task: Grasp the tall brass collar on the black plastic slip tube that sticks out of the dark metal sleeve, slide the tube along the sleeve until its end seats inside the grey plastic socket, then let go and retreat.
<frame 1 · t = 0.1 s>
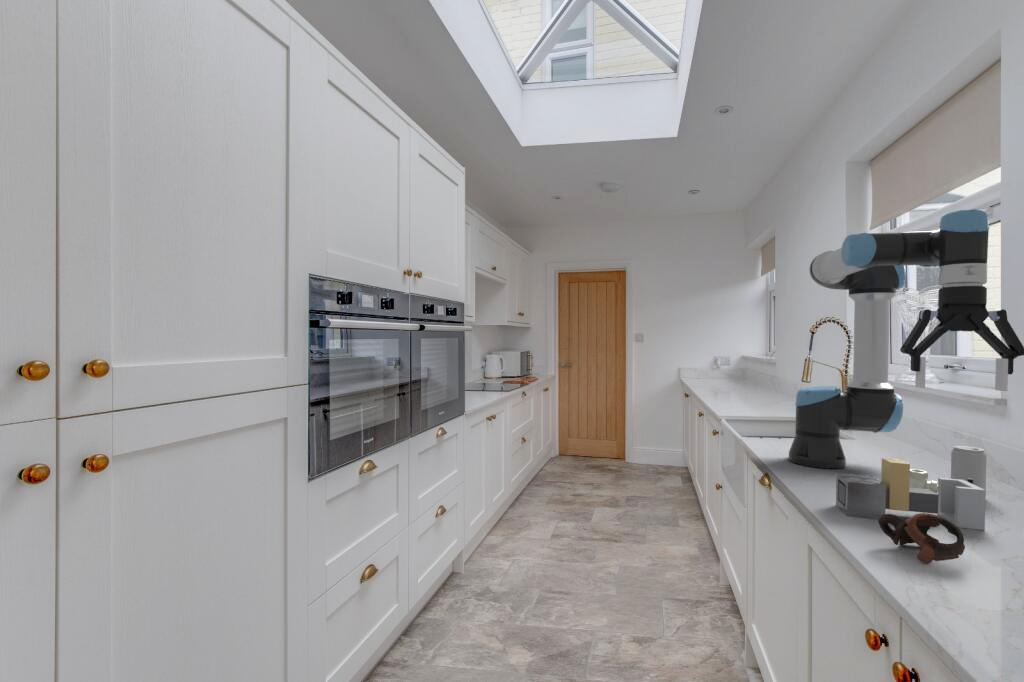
hand: (959, 389, 106), 28 cm above the table, tool pointing down, fingers open, 13 cm apart
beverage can: (967, 497, 125), on the table
sleeve: (859, 512, 112), on the table
rusty metal ring bracket: (919, 555, 90), on the table
valve: (938, 502, 120), on the table
socket: (960, 521, 107), on the table
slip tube: (886, 483, 110), point 7 cm above the table, slide at 0.0 cm
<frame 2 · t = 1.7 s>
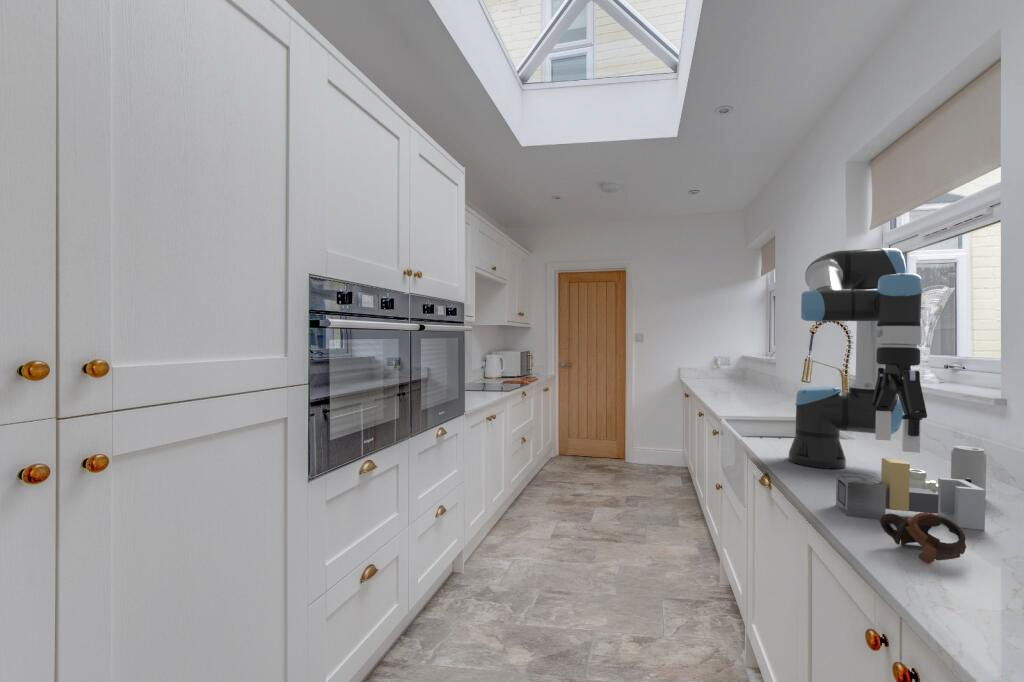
hand: (896, 445, 110), 15 cm above the table, tool pointing down, fingers open, 13 cm apart
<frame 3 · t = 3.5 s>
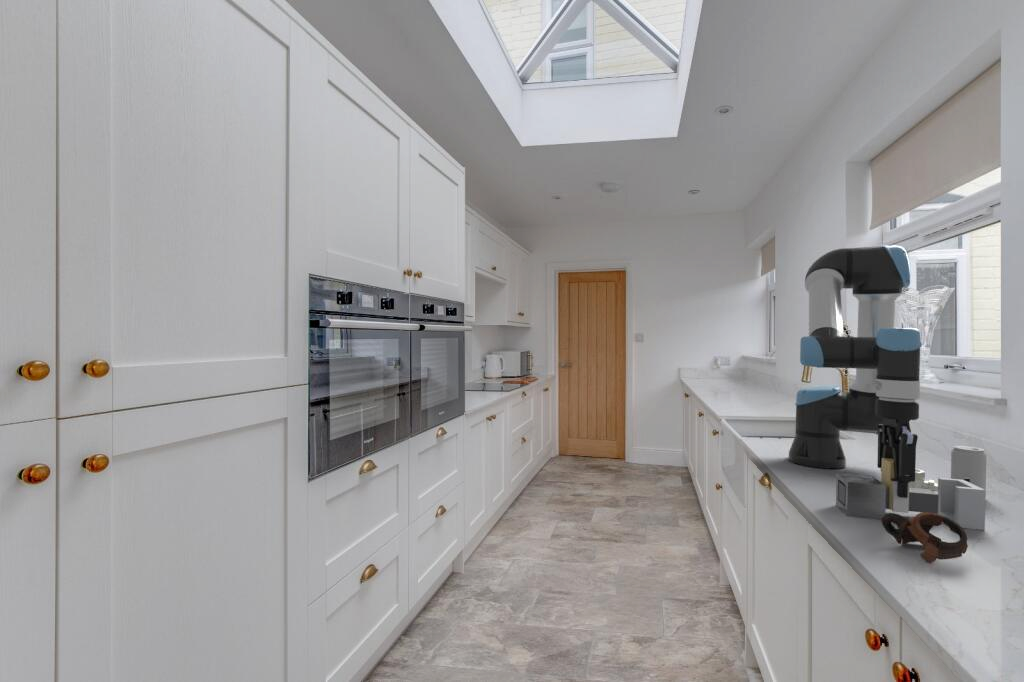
hand: (894, 507, 110), 2 cm above the table, tool pointing down, fingers closed on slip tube, 4 cm apart
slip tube: (886, 483, 110), point 7 cm above the table, slide at 0.0 cm, touching gripper
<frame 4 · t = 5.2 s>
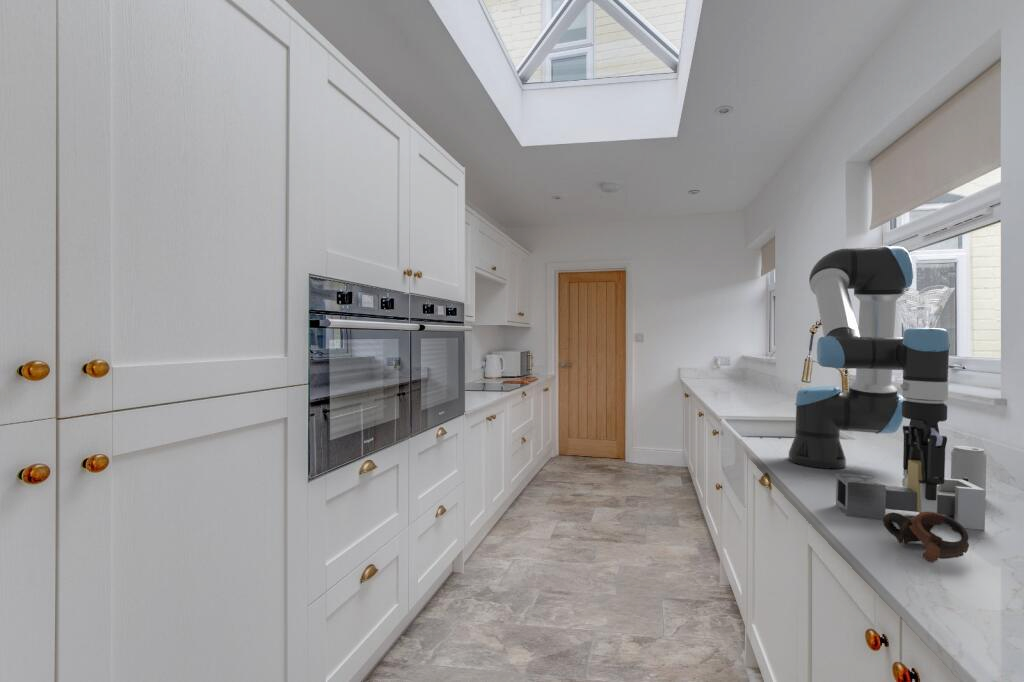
hand: (921, 510, 109), 2 cm above the table, tool pointing down, fingers closed on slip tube, 4 cm apart
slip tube: (914, 485, 109), point 7 cm above the table, slide at 5.0 cm, touching gripper
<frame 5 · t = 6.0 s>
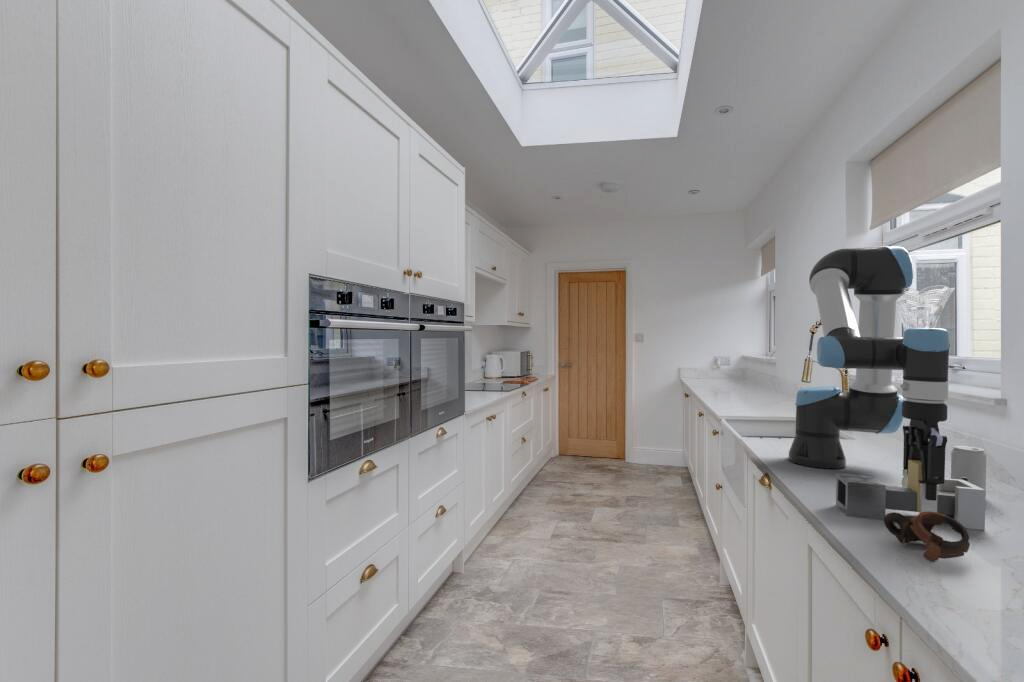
hand: (921, 510, 109), 2 cm above the table, tool pointing down, fingers closed on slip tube, 4 cm apart
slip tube: (914, 485, 109), point 7 cm above the table, slide at 5.0 cm, touching gripper
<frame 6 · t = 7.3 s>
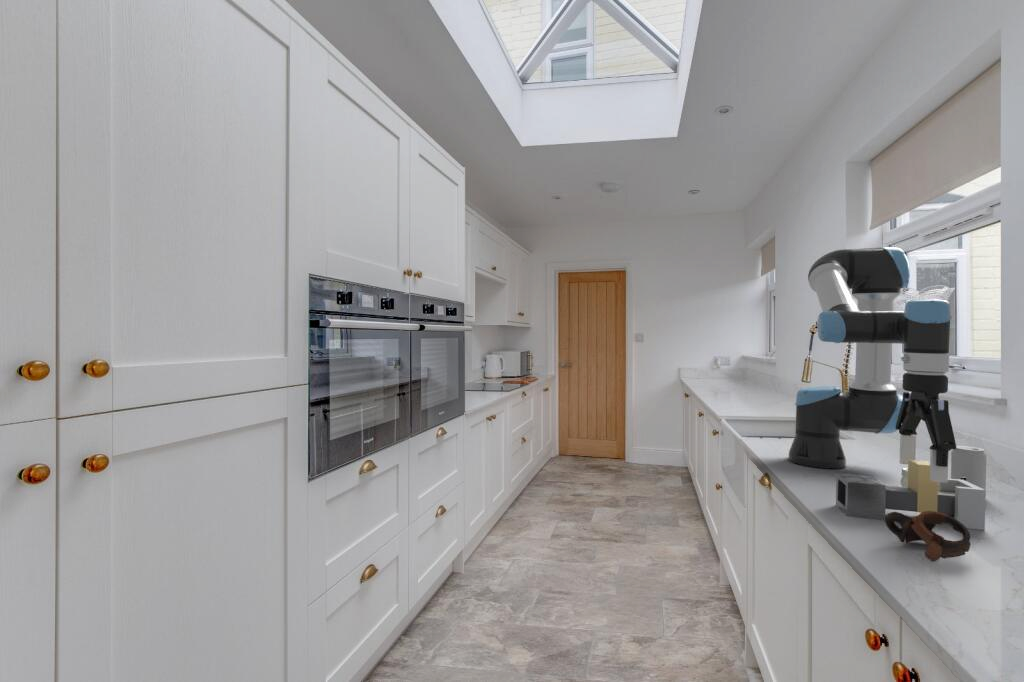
hand: (921, 472, 109), 10 cm above the table, tool pointing down, fingers open, 13 cm apart
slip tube: (914, 485, 109), point 7 cm above the table, slide at 5.0 cm
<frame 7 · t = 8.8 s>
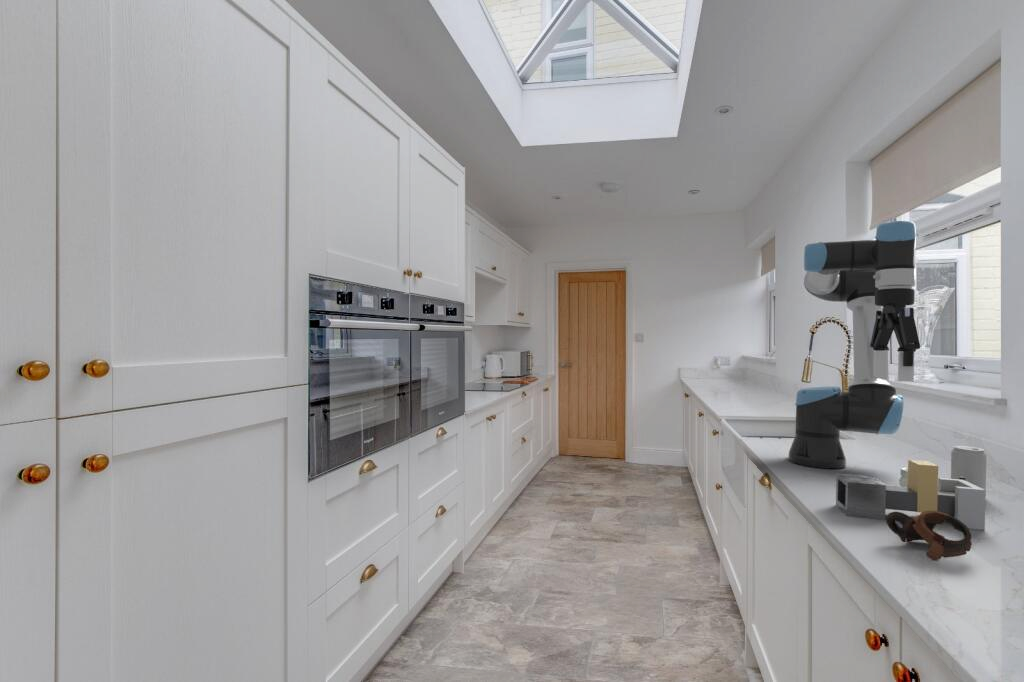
hand: (892, 379, 120), 29 cm above the table, tool pointing down, fingers open, 13 cm apart
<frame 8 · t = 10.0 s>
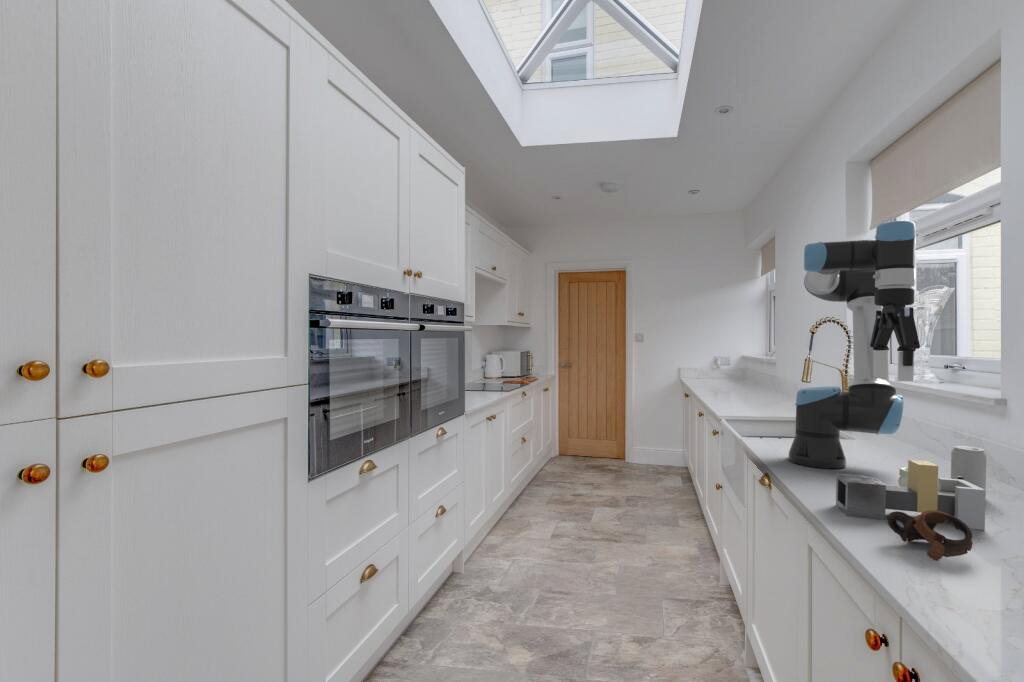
hand: (892, 378, 120), 29 cm above the table, tool pointing down, fingers open, 13 cm apart
at the end: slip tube slide at 5.0 cm; the gripper is holding nothing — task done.
